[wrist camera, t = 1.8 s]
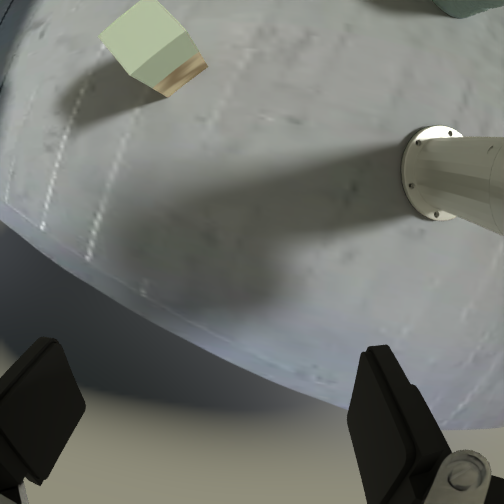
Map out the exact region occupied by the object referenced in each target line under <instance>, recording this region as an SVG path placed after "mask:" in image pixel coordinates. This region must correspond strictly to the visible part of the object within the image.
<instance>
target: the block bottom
mask: <svg viewBox="0 0 504 504" xmlns="http://www.w3.org/2000/svg"><path fill="white" fill-rule="evenodd" d="M207 67H208V66H207V64H206V62H205V61H204V59H203V57H202V56H201V54H200V52H198V53H197V54H195V55H194V56H192V57H191V58H190V59H188V60H187V61H186V62H184V63H183V64H182V65H180V66H179V67H178V68H177V69H175V70H174V71H173V72H171V73H170V74H169V75H168V76H166V77H165V78H164V79H163V80H162V81H160V82H159V83H158V84H157V85H156V86H154V87H153V88H152V89H154V90H156V91H158V92H159V93H161V94H163V95H164V96H166V97H168V98H169V97H170V96H171V95H172V94H173V93H175V92H176V91H177V90H178V89H180V88H181V87H182V86H183V85H185V84H186V83H187V82H189V81H190V80H191V79H193V78H194V77H195V76H197V75H198V74H199V73H201V72H202V71H203V70H205V69H206V68H207Z"/></svg>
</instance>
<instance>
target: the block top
mask: <svg viewBox="0 0 504 504" xmlns="http://www.w3.org/2000/svg"><path fill="white" fill-rule="evenodd" d="M98 37H99V38H100V40H101V41H102V42H103V43H104V45H105V46H106V47H107V48H108V49H109V51H110V52H111V53H112V54H113V56H114V57H115V58H116V59H117V60H118V62H119V63H120V64H121V65H122V67H123V68H124V69H125V70H126V72H127V73H128V74H129V75H130V76H131V77H133V78H135V79H137V80H139V81H140V82H142V83H144V84H146V85H148V86H149V87H151V88H153V87H154V86H156V85H157V84H158V83H159V82H160V81H162V80H163V79H164V78H165V77H166V76H168V75H169V74H170V73H171V72H173V71H174V70H175V69H177V68H178V67H179V66H180V65H182V64H183V63H184V62H186V61H187V60H188V59H190V58H191V57H192V56H194V55H195V54H197V53H198V52H199V50H198V49H197V47H196V45H195V44H194V42H193V40H192V39H191V37H190V35H189V34H188V32H187V31H186V29H185V28H184V27H183V26H182V25H181V24H180V23H179V22H178V21H177V20H176V19H175V18H174V17H173V16H172V15H171V14H170V13H169V12H168V11H167V10H166V9H165V8H164V7H163V6H162V5H161V4H160V3H159V2H158V1H157V0H141V1H139V2H138V3H137V4H135V5H134V6H133V7H131V8H130V9H129V10H128V11H126V12H125V13H124V14H123V15H121V16H120V17H119V18H118V19H117V20H116V21H114V22H113V23H112V24H111V25H110V26H109V27H107V28H106V29H105V30H104V31H103V32H102V33H101V34H100V35H99V36H98Z"/></svg>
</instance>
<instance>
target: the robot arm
mask: <svg viewBox="0 0 504 504" xmlns="http://www.w3.org/2000/svg"><path fill="white" fill-rule="evenodd" d="M416 142H417V144H416ZM401 175H402V183H403V187H404V190H405V193H406V195H407V198H408V199H409V201H410V203H411V204H412V205H413V207H414V208H415V209H416V210H417V211H418V212H420V213H421V214H422V215H424V216H426V217H428V218H430V219H433V220H436V221H447V220H451V219H453V218H456V217H460V218H462V219H465V220H467V221H469V222H472V223H474V224H477V225H479V226H481V227H484V228H486V229H488V230H490V231H493V232H495V233H497V234H499V235H502V236H504V137H463V136H462V135H461V134H460V133H459V132H457V131H456V130H454V129H452V128H450V127H447V126H441V125H436V126H429V127H426V128H424V129H422V130H420V131H418V132H417V133H416V134H415V135H414V136H413V137H412V138H411V140H410V141H409V143H408V144H407V147H406V149H405V151H404V155H403V159H402V167H401ZM409 184H410V186H409ZM434 213H435V214H434ZM85 408H86V405H85V401H84V399H83V397H82V394H81V392H80V390H79V388H78V386H77V383H76V381H75V378H74V376H73V374H72V371H71V369H70V366H69V364H68V361H67V358H66V356H65V353H64V350H63V348H62V346H61V345H60V344H59V342H58V341H57V340H56V339H54V338H47V337H40V338H39V339H38V340H37V341H36V342H35V343H34V344H33V345H32V346H31V347H30V348H29V349H28V350H27V351H26V352H25V353H24V354H23V355H22V356H21V357H20V358H19V359H18V360H17V361H16V362H15V363H14V364H13V365H12V366H11V367H10V368H9V369H8V370H7V371H6V373H5V374H4V375H3V376H2V377H1V378H0V504H29V502H28V498H27V494H26V490H25V485H24V481H23V479H24V477H26V478H27V479H28V480H29V481H31V482H33V483H35V484H37V485H39V486H41V484H42V482H43V480H46V479H47V478H48V476H49V474H50V472H51V471H52V469H53V467H54V465H55V463H56V461H57V459H58V457H59V456H60V454H61V452H62V450H63V449H64V447H65V445H66V443H67V441H68V440H69V438H70V436H71V434H72V433H73V431H74V429H75V427H76V426H77V424H78V422H79V420H80V419H81V417H82V415H83V413H84V412H85ZM347 424H348V428H349V432H350V435H351V440H352V443H353V447H354V451H355V455H356V459H357V463H358V467H359V471H360V475H361V479H362V483H363V487H364V491H365V496H366V500H367V504H504V479H503V478H499V477H496V476H493V475H491V468H490V464H489V462H488V461H487V459H486V458H485V457H484V456H482V455H481V454H480V453H478V452H475V451H473V450H458V451H456V452H453V453H452V452H451V450H450V448H449V446H448V444H447V442H446V440H445V438H444V436H443V434H442V432H441V430H440V428H439V426H438V424H437V422H436V420H435V419H434V417H433V415H432V413H431V411H430V409H429V408H428V406H427V404H426V402H425V400H424V398H423V397H422V395H421V393H420V391H419V390H418V388H417V387H416V386H415V385H413V384H410V382H409V380H408V379H407V377H406V375H405V373H404V372H403V370H402V368H401V366H400V364H399V363H398V361H397V359H396V358H395V356H394V354H393V352H392V351H391V349H390V347H389V346H388V345H379V346H369V347H368V348H367V350H366V352H362V353H361V355H360V360H359V365H358V370H357V375H356V380H355V384H354V389H353V393H352V398H351V402H350V406H349V410H348V414H347Z"/></svg>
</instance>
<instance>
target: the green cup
mask: <svg viewBox="0 0 504 504" xmlns="http://www.w3.org/2000/svg"><path fill="white" fill-rule="evenodd" d="M432 1H433V2H434V3H435V4H436V5H437V6H438V7H439V8H440V9H441V10H442V11H444V12H445V13H447V14H448V15H450V16H452V17H455V18H460V19H461V18H467V17H469V16H472V15H475V14H476V13H480V12H484V11H488V9H490V8H492V9H493V8H497V7H501V6H504V0H432Z"/></svg>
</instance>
